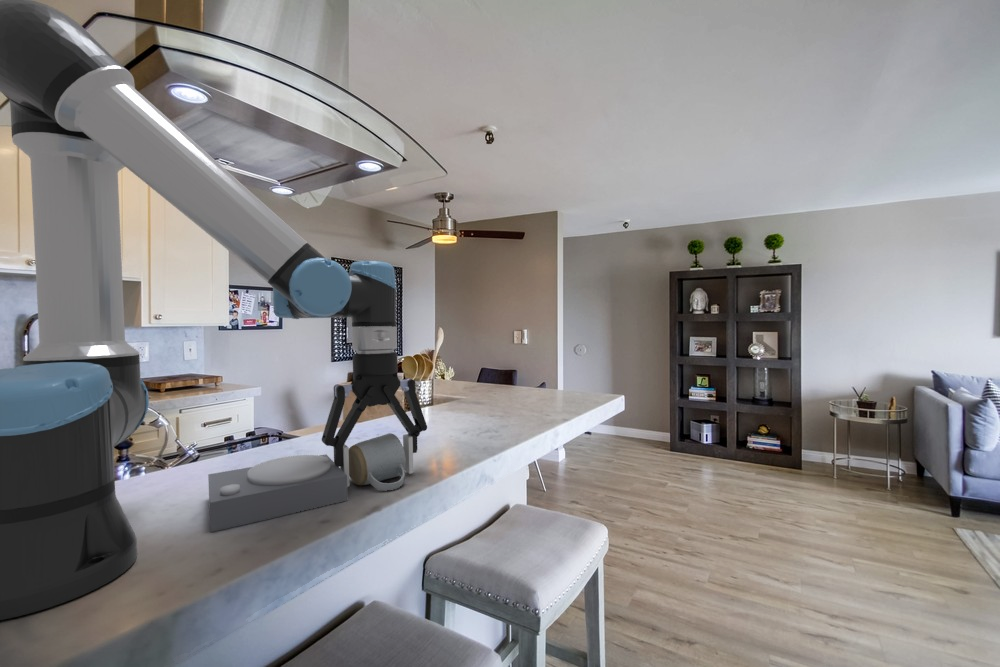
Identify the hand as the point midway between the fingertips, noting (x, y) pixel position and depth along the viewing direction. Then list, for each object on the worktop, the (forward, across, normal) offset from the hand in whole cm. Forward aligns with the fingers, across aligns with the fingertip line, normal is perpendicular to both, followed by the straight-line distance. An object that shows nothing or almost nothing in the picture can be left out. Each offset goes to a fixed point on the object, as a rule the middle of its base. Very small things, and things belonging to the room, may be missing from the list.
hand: (378, 477), depth 79 cm
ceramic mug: (+1, 0, -1) cm, 1 cm away
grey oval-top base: (+1, -16, +1) cm, 16 cm away
